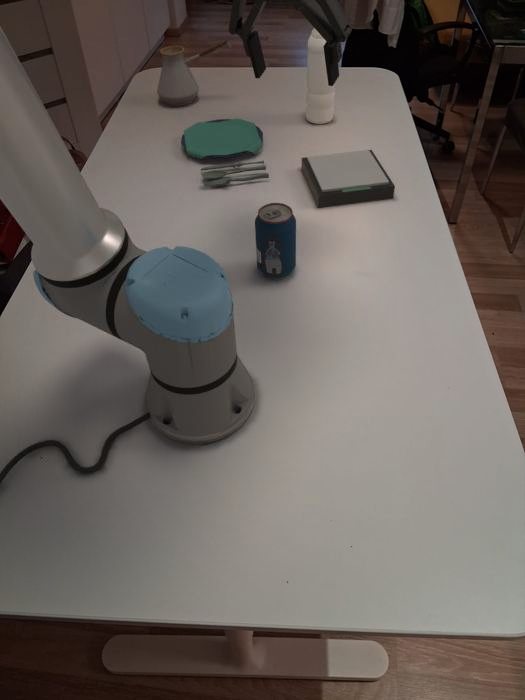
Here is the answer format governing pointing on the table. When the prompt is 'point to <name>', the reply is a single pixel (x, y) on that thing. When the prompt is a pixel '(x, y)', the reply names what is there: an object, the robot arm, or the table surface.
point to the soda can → (275, 240)
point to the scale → (346, 178)
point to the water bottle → (318, 83)
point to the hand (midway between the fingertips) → (296, 77)
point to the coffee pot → (179, 75)
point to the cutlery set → (224, 146)
